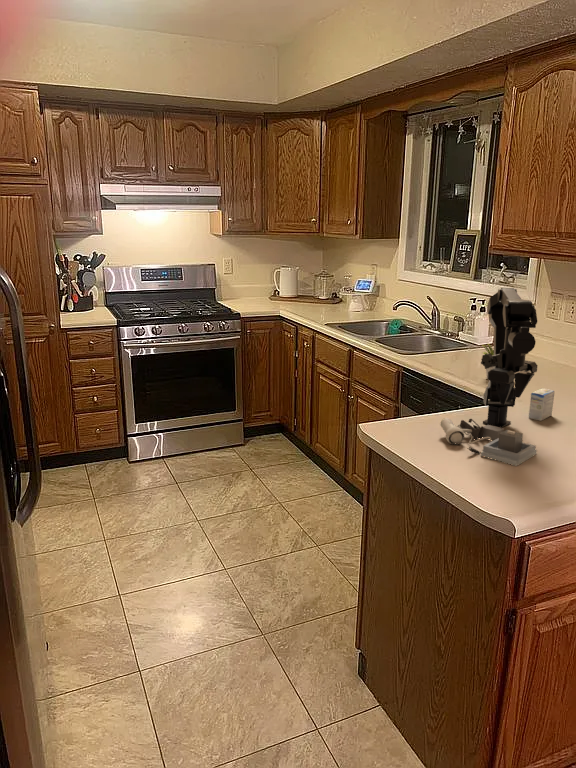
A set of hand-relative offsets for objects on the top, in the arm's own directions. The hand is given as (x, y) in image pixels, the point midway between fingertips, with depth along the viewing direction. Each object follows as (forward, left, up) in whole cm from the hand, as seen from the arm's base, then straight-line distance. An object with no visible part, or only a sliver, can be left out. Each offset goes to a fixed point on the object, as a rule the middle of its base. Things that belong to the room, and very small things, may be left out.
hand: (510, 400), depth 170 cm
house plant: (-64, -37, -13) cm, 75 cm away
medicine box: (-30, -3, -13) cm, 33 cm away
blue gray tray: (+9, +5, -12) cm, 16 cm away
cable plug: (0, -4, -13) cm, 13 cm away
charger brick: (+9, +5, -11) cm, 15 cm away
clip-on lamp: (+9, -8, -13) cm, 17 cm away
